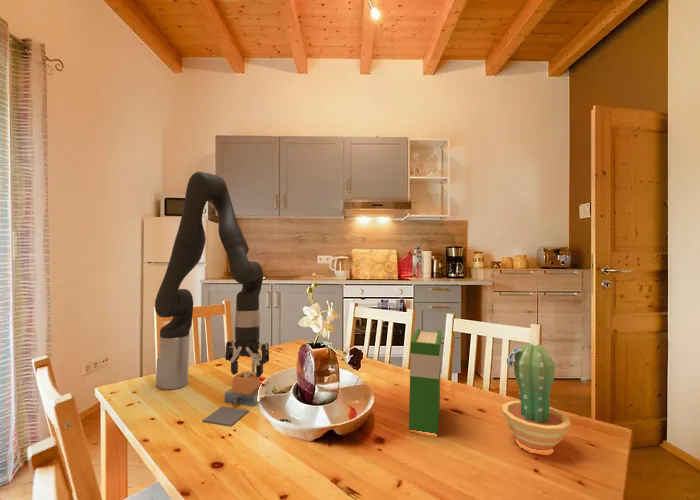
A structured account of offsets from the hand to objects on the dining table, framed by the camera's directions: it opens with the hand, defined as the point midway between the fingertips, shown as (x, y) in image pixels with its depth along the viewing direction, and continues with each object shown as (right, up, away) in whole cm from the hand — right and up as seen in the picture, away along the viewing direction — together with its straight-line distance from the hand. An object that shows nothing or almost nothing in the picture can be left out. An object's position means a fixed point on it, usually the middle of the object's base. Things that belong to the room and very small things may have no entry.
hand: (246, 375), depth 110 cm
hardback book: (+55, -9, -10) cm, 56 cm away
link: (0, -5, 0) cm, 5 cm away
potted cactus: (+79, -10, -23) cm, 83 cm away
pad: (-2, -8, -12) cm, 14 cm away
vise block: (-1, -8, -1) cm, 8 cm away
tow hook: (-1, -8, +14) cm, 16 cm away
